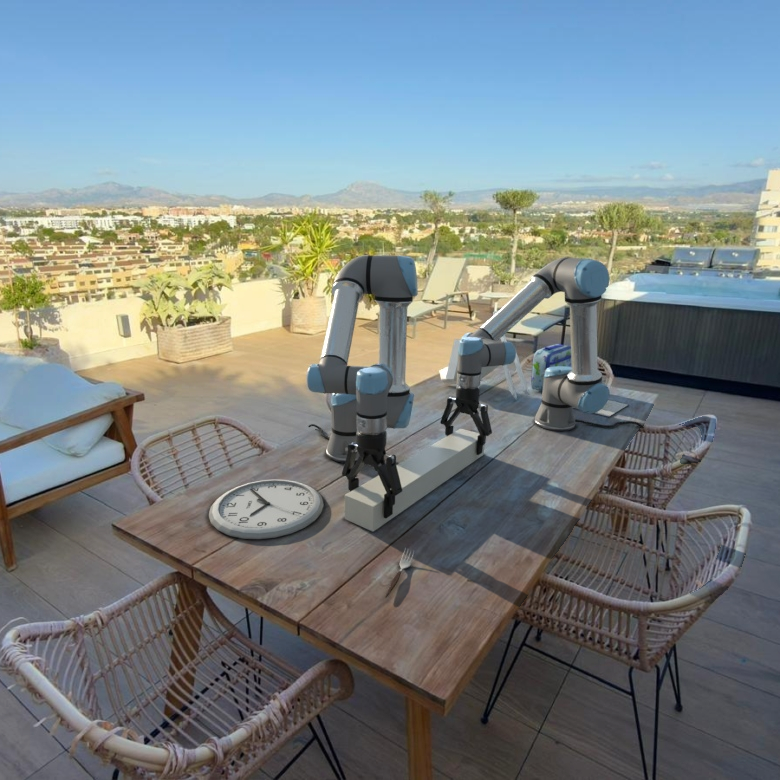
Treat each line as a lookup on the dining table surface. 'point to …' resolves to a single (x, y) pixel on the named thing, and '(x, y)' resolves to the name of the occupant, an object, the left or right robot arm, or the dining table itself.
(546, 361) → the lunch box
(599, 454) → the dining table surface
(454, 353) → the white plastic object
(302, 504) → the wall clock
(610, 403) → the invitation card
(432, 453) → the off-white long beam
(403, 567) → the fork
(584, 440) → the dining table surface
